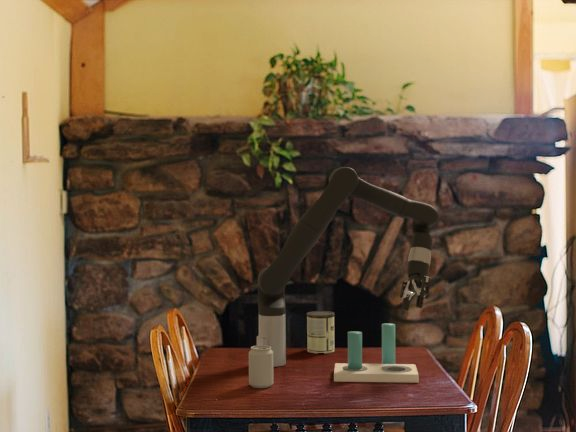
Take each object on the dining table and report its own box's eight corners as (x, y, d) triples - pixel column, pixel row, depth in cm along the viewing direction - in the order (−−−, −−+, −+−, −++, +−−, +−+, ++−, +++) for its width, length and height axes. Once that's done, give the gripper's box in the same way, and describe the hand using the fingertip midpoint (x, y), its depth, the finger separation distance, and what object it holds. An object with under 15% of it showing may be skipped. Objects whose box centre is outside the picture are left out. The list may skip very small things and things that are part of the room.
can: (277, 383, 237) (276, 345, 236) (268, 389, 230) (268, 349, 229) (254, 382, 239) (253, 343, 239) (245, 387, 232) (244, 348, 232)
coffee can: (307, 347, 291) (307, 310, 290) (335, 348, 290) (335, 310, 289) (305, 353, 280) (305, 315, 280) (334, 354, 279) (333, 315, 279)
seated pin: (352, 378, 242) (352, 334, 242) (345, 375, 247) (345, 332, 246) (364, 377, 244) (364, 333, 244) (357, 374, 248) (357, 330, 248)
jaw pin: (386, 367, 257) (386, 326, 257) (379, 365, 261) (379, 323, 261) (397, 366, 259) (397, 324, 258) (390, 363, 263) (390, 322, 263)
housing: (418, 382, 237) (418, 374, 237) (333, 381, 239) (333, 372, 239) (415, 371, 251) (415, 363, 251) (335, 370, 253) (335, 362, 253)
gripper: (398, 263, 266) (391, 308, 261) (421, 256, 254) (413, 303, 248) (416, 269, 269) (409, 314, 264) (440, 262, 256) (433, 309, 251)
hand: (411, 309), depth 256 cm, fingers open, 8 cm apart
